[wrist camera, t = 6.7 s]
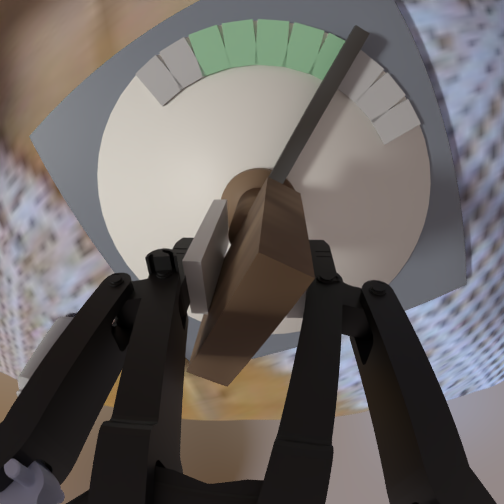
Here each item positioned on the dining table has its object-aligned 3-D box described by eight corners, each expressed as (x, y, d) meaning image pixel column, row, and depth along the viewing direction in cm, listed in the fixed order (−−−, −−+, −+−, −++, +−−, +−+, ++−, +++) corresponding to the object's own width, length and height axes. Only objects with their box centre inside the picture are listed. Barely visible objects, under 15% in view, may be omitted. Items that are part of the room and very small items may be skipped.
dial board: (38, 133, 19) (25, 137, 18) (356, -47, 11) (362, -56, 9) (200, 362, 31) (197, 374, 30) (461, 276, 23) (468, 287, 21)
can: (95, 314, 29) (44, 401, 19) (117, 359, 33) (82, 439, 23) (49, 308, 30) (-1, 381, 20) (73, 350, 34) (35, 420, 23)
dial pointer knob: (206, 227, 21) (150, 356, 11) (320, 11, 13) (375, -77, 3) (271, 257, 22) (261, 397, 12) (392, 55, 14) (518, 40, 4)
